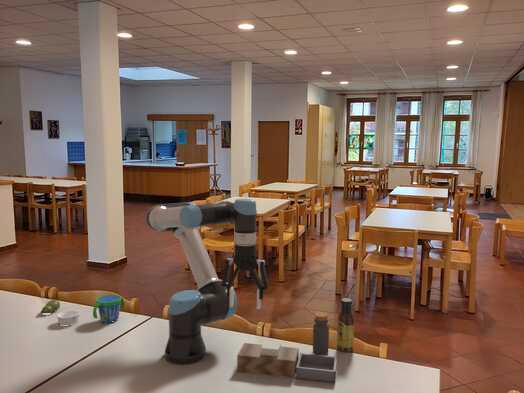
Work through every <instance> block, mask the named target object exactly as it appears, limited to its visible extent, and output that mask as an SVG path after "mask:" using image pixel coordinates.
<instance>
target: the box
mask: <svg viewBox="0 0 524 393" xmlns="http://www.w3.org/2000/svg"><path fill="white" fill-rule="evenodd" d="M337 362H338V356H334V355H333V356H331V355H315V354H314V353H302V352H299V359H298V363H297V366H296V375H295V379H296V380H303V381H313V382H321V383H322V382H323V383H331V384H336V377H337Z"/></svg>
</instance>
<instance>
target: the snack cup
mask: <svg viewBox="0 0 524 393" xmlns="http://www.w3.org/2000/svg"><path fill="white" fill-rule="evenodd" d="M95 300H96V303H95V304H94V306H93V310H92V316H93V319H98V316H99V318H100V321H101V322H102V321H103V322H112V321H115V320H116V321H118V320H119V316H120V310H121V309H125V306H126V305H125V304H126V303H125V299H124V297H122V296H121V295H118V294H105V295H101V296H99V297H97V298H96V299H95ZM97 310H98V313H99V314H97ZM117 319H118V320H117ZM116 321H115V322H116ZM103 322H102V323H103ZM112 323H113V322H112Z"/></svg>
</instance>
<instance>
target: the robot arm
mask: <svg viewBox="0 0 524 393" xmlns="http://www.w3.org/2000/svg"><path fill="white" fill-rule="evenodd" d="M257 211H258V210H257V201H256V200H255V199H252V198H237V199H235V200H234V202H231V201H229V200H226V201H224V200H222V201H219V202H217V203H215V202H214V203H204V204H196V203H194V202H190V201H187V202H186V201H182V202H173V203H159V204H155V205H154V206H151V207H150V208H149V209H148V210H147V211H146V213H145V217H144V222H145V225H146V226H147V228H148V229H150V230H152V231H154V232H159V233H163V232H164V233H165V232H172V234H173V237H174V238H176V239H179V242H180V244H181V247H182V250H183V252H184V254H185V257H186V259H187V263H188V264H189V268H190V270H191V273H192V275H193V278H194V280H195V283H196V285H197V290H196V289H190V290H188V289H185V290H181V291H178V292H175V293H174V294H173V295H172V296H171V297H170V298H169V301H168V308H167V310H168V328H169V329H168V333H169V335H168V339H167V342H166V344H165V345H166V346H165V348H164V359H165V361H167V362H169V363H171V364H176V365H189V364H194V363H197V362H199V361H201V360H204V358H205V357H206V355H207V348H206V344H205V341H204V338H203V336H202V325H206V324H210V323H215V322H219V321H225V320H226V319H229V318H232V317H233V316H234V315H235V313H236V310H237V306H238V299H237V298H238V297H237V294H236V291H235V289H234V288H235V287H234V286H233V284H234V282H235V280H236V278H237V276H238V274H239V272H240V271H241V272H242V271H246V272H249V273H250V275H252V278H253V281H254V282H255V285H256V286H257V288H258V289H257V290H256V310H260V308H261V305H262V304H261V302H262V301H261V300H263V299H264V291H265V290H268V288H269V287H270V284H269V279H268V275H267V271H266V266H265V265H266V259H262V260H261V259H258V258H257V245H256V243H257V213H258V212H257ZM223 224H224V225H225V224H230V225H234V226H233V227H234V230H233V231H234V238H233V239H234V243H235V244H234V251H233V252H234V255H233V256H234V257H233V258H232V257H231V258H230V257H227V258H226V259H225V261H224V262H225V268H224V272H223V278H222V279H220V278H218V275H217V272H216V270H215V267H214V265H213V263H212V261H211V258H210V256H209V255H210V254H208V250H207V248H206V246H205V243H204V241H203V239H202V237H201V236H202V235H201V233H200V229H201V227H207V226H216V225H223ZM232 264H234V265H235V267H236V268H234V271H233V273H232V275H231V277H230V278H229V275H230V272H231V268H232V267H231V266H232ZM256 264H257V267H259V270H260V271H259V272H260V274H261V277H260V275H259V274H258V272H257V270H256V267H255V266H256ZM260 278H261V279H260ZM261 280H262V281H261Z"/></svg>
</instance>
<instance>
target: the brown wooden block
mask: <svg viewBox="0 0 524 393" xmlns="http://www.w3.org/2000/svg"><path fill="white" fill-rule="evenodd" d="M262 345H263V344H260V343H259V344H258V343H249V342H244V343H243V344H242V346H241V348H240V350H239V351H238V353H237V355H236V366H237V367H236V369H237V370H236V371H237V373H245V374H246V373H247V374H255V375H256V374H257V375H263V376H274V377H283V378H289V379H290V378H292V379H296V366H297V363H298V359H299V356H300V352H299V351H300V350H299V347H291V346H289V347H288V346H281V351H280V353H279V356H268V355H261V347H262Z"/></svg>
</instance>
